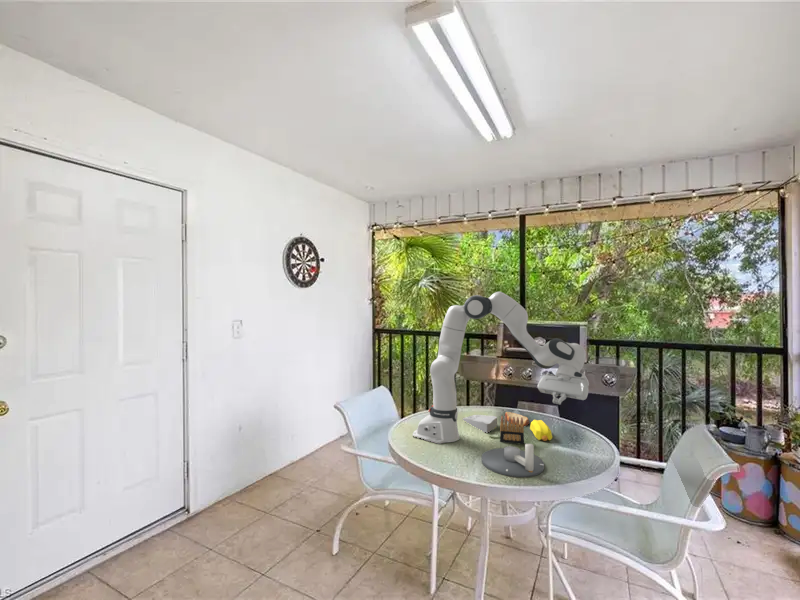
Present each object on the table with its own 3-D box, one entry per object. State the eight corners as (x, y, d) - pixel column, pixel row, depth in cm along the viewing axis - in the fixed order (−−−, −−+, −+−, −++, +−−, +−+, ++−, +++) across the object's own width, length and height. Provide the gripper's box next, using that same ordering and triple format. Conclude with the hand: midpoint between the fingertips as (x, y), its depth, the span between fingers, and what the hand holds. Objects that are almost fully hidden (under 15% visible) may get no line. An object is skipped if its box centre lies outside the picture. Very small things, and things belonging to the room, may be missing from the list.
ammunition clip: (500, 441, 174) (500, 416, 174) (499, 440, 176) (499, 414, 176) (524, 444, 171) (524, 417, 172) (523, 442, 173) (523, 416, 173)
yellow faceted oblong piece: (536, 442, 174) (554, 443, 173) (536, 428, 174) (554, 428, 173) (528, 429, 192) (544, 430, 191) (528, 416, 192) (544, 417, 191)
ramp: (459, 418, 212) (459, 408, 212) (486, 417, 213) (486, 407, 213) (472, 435, 184) (472, 424, 184) (504, 434, 185) (504, 423, 185)
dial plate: (474, 469, 145) (474, 464, 145) (488, 448, 166) (488, 444, 166) (540, 482, 134) (540, 477, 134) (546, 457, 156) (546, 453, 156)
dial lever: (501, 457, 152) (501, 434, 152) (513, 455, 154) (513, 432, 154) (525, 472, 138) (525, 447, 138) (538, 470, 140) (538, 445, 140)
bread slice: (508, 414, 219) (508, 408, 219) (538, 421, 206) (538, 414, 206) (491, 421, 206) (491, 414, 206) (522, 429, 193) (522, 421, 193)
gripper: (541, 368, 168) (530, 394, 161) (589, 375, 153) (578, 403, 146) (546, 377, 171) (535, 402, 164) (593, 384, 156) (583, 412, 149)
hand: (556, 403), depth 155 cm, fingers closed
